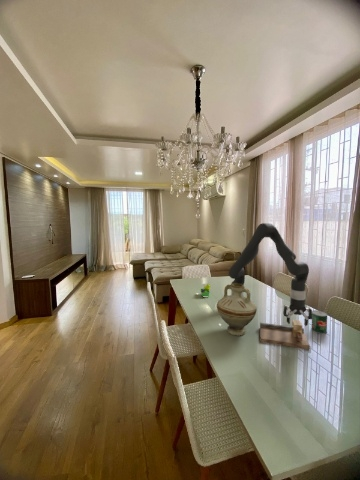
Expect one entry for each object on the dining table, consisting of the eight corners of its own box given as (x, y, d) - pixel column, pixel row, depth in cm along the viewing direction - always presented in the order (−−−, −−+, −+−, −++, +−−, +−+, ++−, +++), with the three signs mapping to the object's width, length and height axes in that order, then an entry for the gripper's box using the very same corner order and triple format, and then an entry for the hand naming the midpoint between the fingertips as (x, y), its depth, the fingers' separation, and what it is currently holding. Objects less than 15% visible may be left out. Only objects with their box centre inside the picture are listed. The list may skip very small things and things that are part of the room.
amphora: (262, 341, 120) (266, 289, 119) (223, 342, 116) (226, 289, 115) (243, 324, 143) (246, 280, 143) (210, 324, 139) (213, 279, 139)
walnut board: (260, 341, 118) (260, 334, 118) (260, 328, 133) (260, 321, 133) (309, 349, 110) (309, 341, 110) (302, 333, 125) (303, 327, 125)
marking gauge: (296, 342, 113) (296, 329, 113) (292, 331, 125) (292, 319, 124) (304, 343, 112) (304, 331, 112) (299, 332, 123) (300, 320, 123)
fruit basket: (200, 293, 200) (200, 282, 199) (209, 293, 199) (209, 282, 198) (201, 298, 188) (201, 285, 187) (211, 298, 188) (210, 285, 187)
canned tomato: (322, 335, 123) (323, 317, 122) (308, 329, 130) (309, 312, 129) (329, 331, 127) (329, 313, 126) (315, 325, 134) (315, 309, 133)
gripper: (284, 298, 118) (284, 325, 120) (314, 300, 113) (312, 329, 115) (283, 293, 125) (282, 319, 127) (310, 296, 120) (309, 323, 122)
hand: (297, 324), depth 121 cm, fingers open, 8 cm apart
